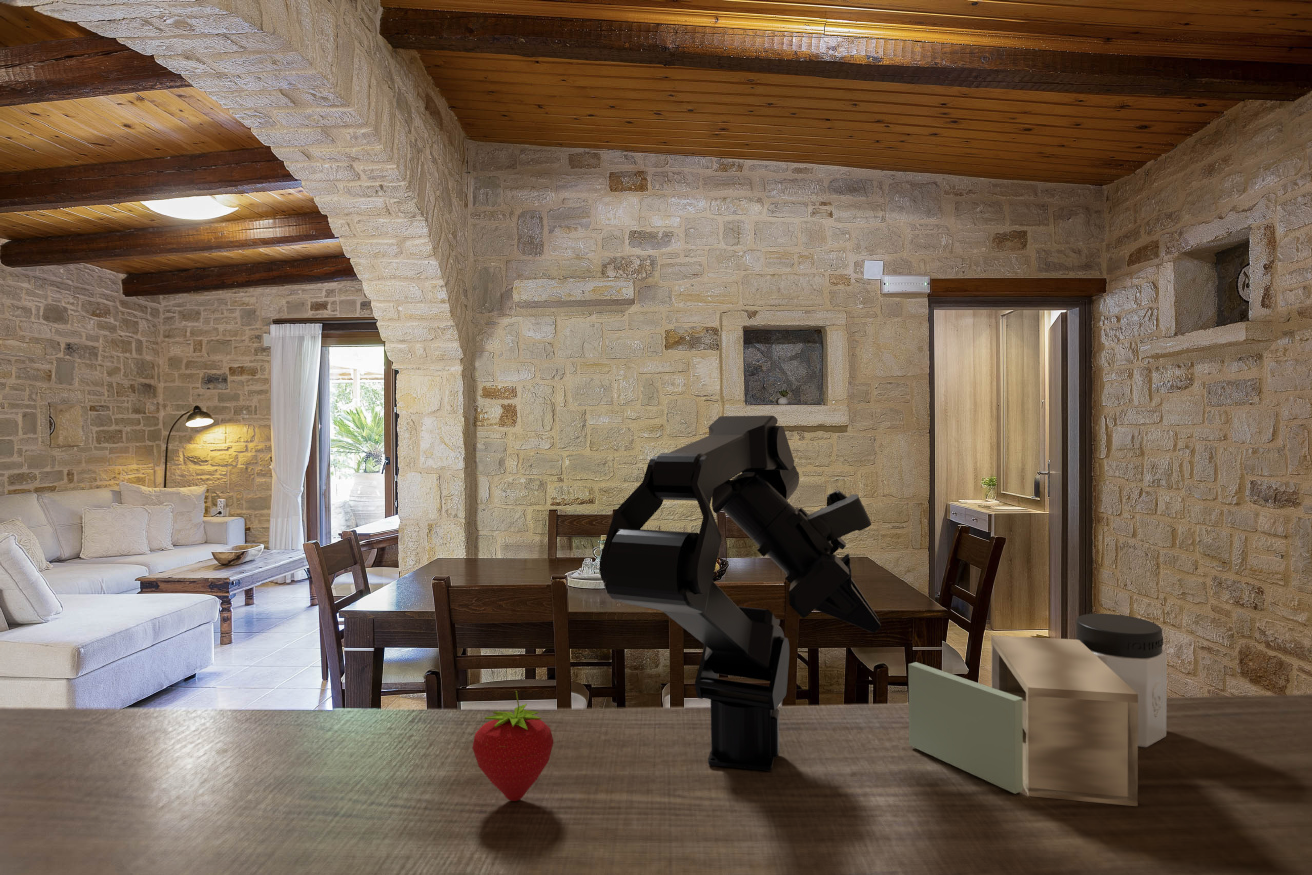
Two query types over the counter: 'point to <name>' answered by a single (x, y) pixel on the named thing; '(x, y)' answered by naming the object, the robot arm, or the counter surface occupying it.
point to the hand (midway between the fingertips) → (877, 626)
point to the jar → (1132, 664)
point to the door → (967, 725)
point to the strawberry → (513, 750)
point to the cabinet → (1070, 719)
